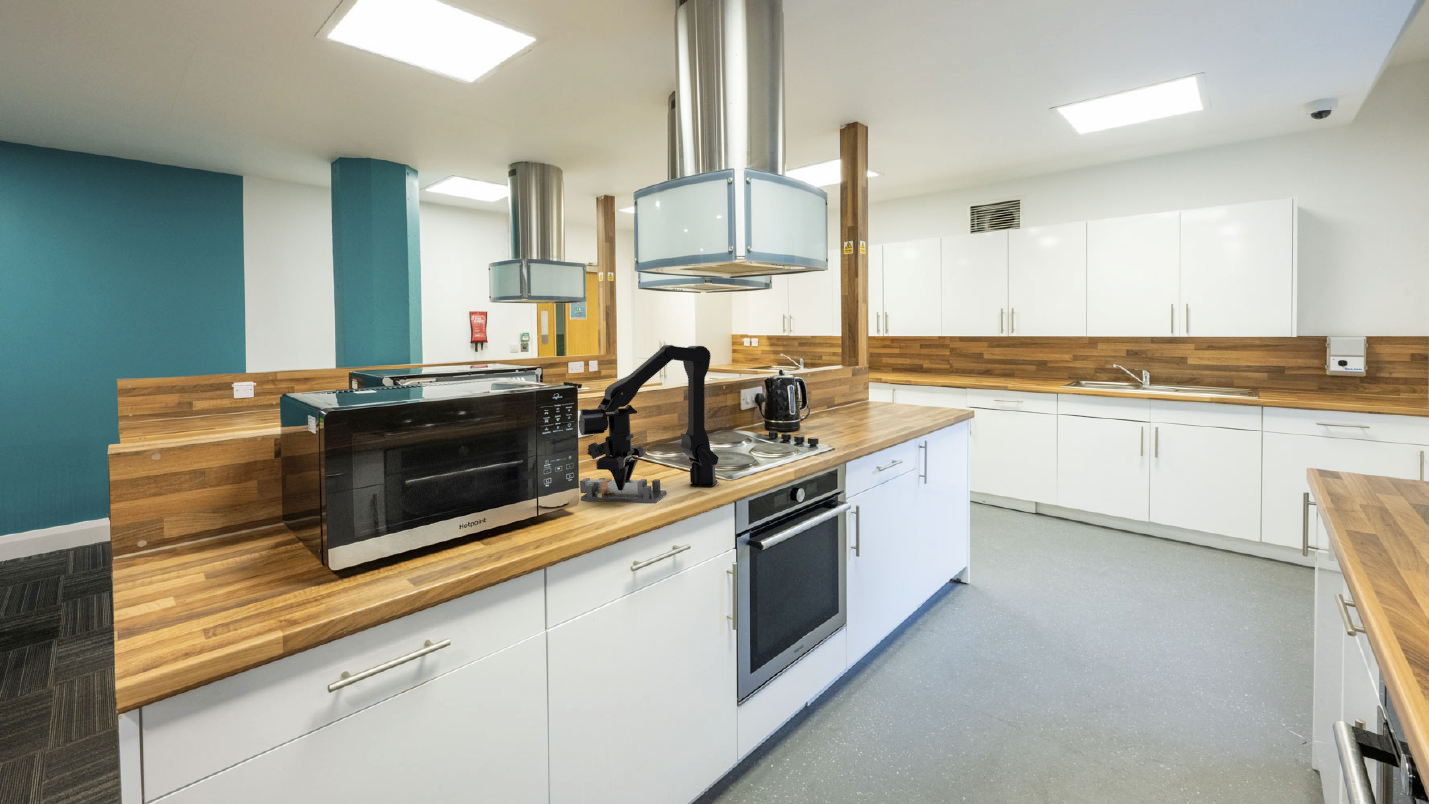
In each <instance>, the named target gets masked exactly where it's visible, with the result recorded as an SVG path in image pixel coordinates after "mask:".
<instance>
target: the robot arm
mask: <svg viewBox="0 0 1429 804" xmlns="http://www.w3.org/2000/svg"><path fill="white" fill-rule="evenodd" d="M711 356H712V355H711V352H710V350H709V349H708V347H706V346H704V345H689V346H687V347H684V346H683V347H682V346H675V345H673V344H665V345H662V346H661V347H660V348H659V349H658V350H657V351H656V352H655V353H654V354H653V355H651V356H650V357H648V359H647V360H646V361H644V362H643V363H641V365H639V366H638V367H637V368H636V369H635V370H634V371H633V372H631V373H630V374H629V375H627V376H625V377H623V378H621V379H619V380H618V379H617V381H615V382H613V383H611V384H610V385H608V386H607V387H606V388H605V390H604V396H603V398H602V400H601V402H600V403H599V404H598V406H597V408H589V409H588V408H581V409H580V410H579V411H580V414H579V417H578V419H579V420H578V421H577V422H578V430H579V433H580V435H581V436H590V435H599V434H604V433H605V431H607V430H608V435H607V436H606V437H605V438H604V442H602V443H599V444H598V443H597V442H596V441H595V442H592V443H590V444H588V445H587V446H588V447H587V455H589V456H590V457H591V458H592V460H595V459H597V461H596V462H595V463H596V466H595V467H596V470H604V471H609V472H610V473H611V475H612V477H613V480H615V483H616V485H617V488H618V490H623V487H624V483H625V480H631V478H632V475H633V473H634V470H635V468H636V465H637V463H638V461H639V460H638V459H634V457H636V456H637V457H638V458H642V457H644V456H645V452H644V448H643V447H642V446H641V445H632V439H634V434H633V433H632V432H631V416H630V415H635V414H636V415H637V414H638V411H637V410H636V409H635V408H634V407H633V406H632V405H631V404H630V403H631V402H632V400H633V399H634V398H635V397H636V395H637V393H638V392H639V390H640V389H641V388H642V386H643V385H645V383H647V382H648V381H649V380H651V378H653V377H654V376H655V375H656V374H658V372H660V371H661V370H662V369H663V368H664V367H666V366H667V365H668V364H669V363H670V362H671V361H680V362H682V363H683V367H684V371H685V373H686V376H687V392H688V393H687V407H688V409H687V412H688V413H687V414H688V415H687V417H688V418H687V420H688V421H687V430H686V432H685V433H681V434H680V438H681V444H680V448H682V452H683V453H684V455H685V456H686V457H688V459H689V462H692V463H691V468H690V469H689V476H690V478H689V479H690V487H701V488H702V487H706V488H710V487H711V488H712V487H713V486H714V485H716V483H717V482H718V480H717V477H716V466H717V465H718V463H719V456H718V455H717V454H716V453H714V452H713V451H712V450H711V445H710V438H709V435H708V433H707V430H706V427H705V425H706V424H705V423H706V422H705V415H706V413H705V410H706V409H705V408H706V407H705V403H706V401H705V400H706V399H705V397H706V396H705V394H706V393H705V392H706V391H705V390H706V388H705V387H706V386H705V382H706V381H705V379H706V376H707V374H708V371H709V368H710V365H711ZM601 456H602V457H601ZM633 456H634V457H633ZM598 458H599V459H598Z"/></svg>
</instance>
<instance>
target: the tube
mask: <svg viewBox="0 0 1429 804" xmlns="http://www.w3.org/2000/svg"><path fill="white" fill-rule="evenodd" d="M605 478H606V477H605ZM589 484H595V492H603V493H604V494H608V493H638V495H643V487H644V486H648V479H647V478H642V479H640V480H639V479H632V480H631V479H630V480H625V483H624V487H623V490H618V488H617V485H616V483H615V480H614V479H612V478H606V479H604V480H598V479H591V477H584V478H583V479H581V480H579V488H580V489H579V490H580V494H586V486H587V485H589Z"/></svg>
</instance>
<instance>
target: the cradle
mask: <svg viewBox="0 0 1429 804" xmlns="http://www.w3.org/2000/svg"><path fill="white" fill-rule="evenodd" d="M604 479H606V477H600V478H598V479H597V480H604ZM651 484H652V486H651V485H647V486H644V487H643V495H638V493H608V494H604V493H603V492H595V484H589V485H587V486H586V493H584V494H583V495H581V496H580V501H585V502H608V503H610V502H613V503H635V504H637V503H638V504H639V503H643V504H656V503H658V502H659V501H661V500H662V499H663V498H664V497H665V496H666V495H667V490H665V489H662V490H661V479H659V478H658V479H655V478H654V479H652V481H651ZM663 496H664V497H663ZM658 500H659V501H658ZM657 501H658V502H657Z"/></svg>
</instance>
